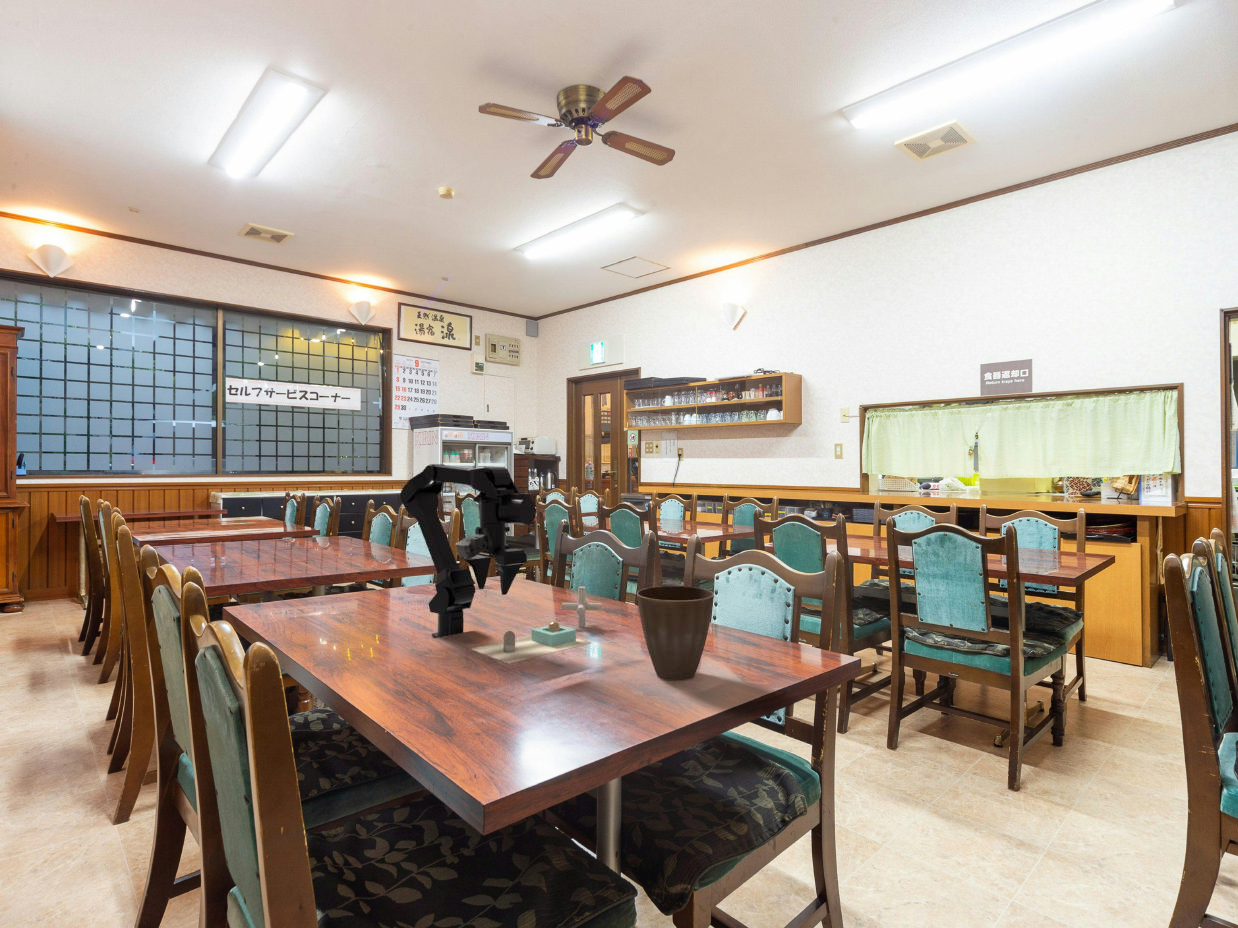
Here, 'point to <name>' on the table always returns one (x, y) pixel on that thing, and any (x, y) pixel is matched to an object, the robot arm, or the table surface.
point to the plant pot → (675, 628)
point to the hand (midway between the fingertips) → (492, 591)
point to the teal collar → (553, 636)
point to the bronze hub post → (554, 627)
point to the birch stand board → (522, 648)
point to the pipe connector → (581, 606)
